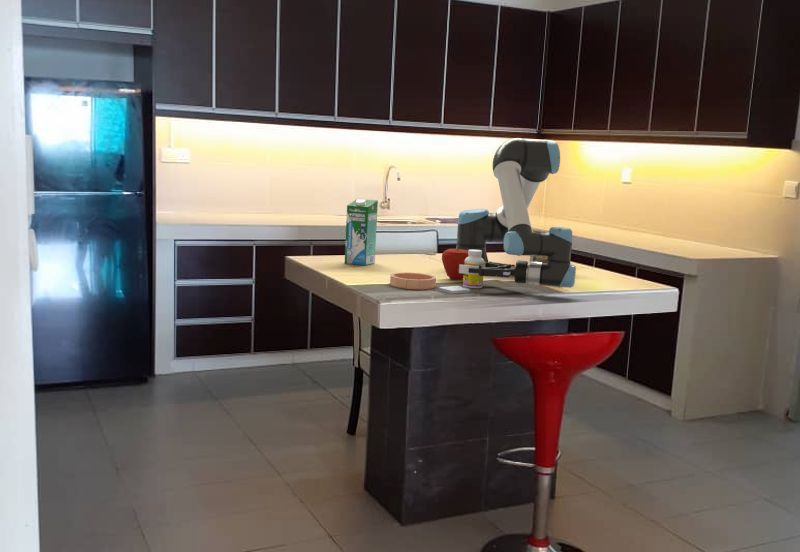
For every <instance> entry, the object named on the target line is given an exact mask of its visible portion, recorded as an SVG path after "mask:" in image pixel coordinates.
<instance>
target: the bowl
mask: <svg viewBox="0 0 800 552" xmlns="http://www.w3.org/2000/svg"><path fill="white" fill-rule="evenodd" d="M389 285H390V286H392V287H395V288H399V289H407V290H431V289H435V288H436V286H437V277H436V276H435V275H431V274H428V273H421V272H395V273H391V274H390V281H389Z"/></svg>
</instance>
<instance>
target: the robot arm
mask: <svg viewBox="0 0 800 552" xmlns="http://www.w3.org/2000/svg"><path fill="white" fill-rule="evenodd" d="M560 165H561V150H560V146H559V144H558V143H557V141H554V140H550V139H540V138H539V139H538V138H537V139H536V138H535V139H534V138H521V137H516V138H514V137H513V138H510V139H508V140H506V141H504V142H503V143H502V144H501V145H500V146H499V147H498V148H497V150H496V152H495V153H494V156H493V158H492V171H493V176H494V177H495V179H497V182H498V186H499V191H500V196H501V201H502V206H500V207H498V209H497V211H496V212H490V211H489V210H488V209H487V208H477V209H476V208H475V209H473V208H471V209H466V210H465V209H464V210H461V211H460V213H459V214H458V219H457V220H458V221H457V231H456V232H457V235H456V247H455V249H458V247H459V249H463V250H467V251H468V250H481V251H482V255H481V258H483V259H484V267H481V265H479V266H470V265H459V273H465V274H475V275H479V276H483V277H495V278H496V277H497V278H507V279H509V278H510V277H511V276H512V277H514V283H515V284H526V283H527V284H528V285H533V286H534V287H537V286H538V285H539V286H545V287H546V286H547V287H554V288H568V289H569V288H573V287H574V286H575V283H576V276H577V266H576V265H573V264H571V255H572V246H573V237H574V236H573V230H572V229H571V228H569V227H564V226H563V227H561V226H551V227H549V233H534V232H533V229H532V225H531V221H530V216H529V211H528V208H529V206H530V205H531V202H532V200H533V198H534V196H535V193H536V192H537V190H538V188H539V186H540V183H542V182H544V181H546V180H547V179H548V177H549V175H550V174H551V175H554V174H557V173H558V172H559V169H560V167H561V166H560ZM487 243H496V244H497V243H500V244H503V251H504V252H505V253H506V254H507V255H508V256H509V255H512V256H518V257H519V256H521V257H522V256H527V257H530V256H547V263H542V262H533V261H530V260H529V262H528V261H527V260H516V261H515V264H509V263H501V262H496V261H489V257H488V253H487V250H486V249H487V248H486V247H487Z"/></svg>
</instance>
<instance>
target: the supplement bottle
mask: <svg viewBox="0 0 800 552" xmlns="http://www.w3.org/2000/svg"><path fill="white" fill-rule="evenodd" d="M468 254H469V256H468V257H467V258H466V259H465V264H464V265H470V266H479V265H481V267H484V259H483V258H481V255H482V251H481V250H468ZM483 286H484V276H479V275H475V274H465V273H464V278H463V279H462V287H464V288H468V289H481V288H482V289H483Z"/></svg>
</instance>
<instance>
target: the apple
mask: <svg viewBox="0 0 800 552" xmlns="http://www.w3.org/2000/svg"><path fill="white" fill-rule="evenodd" d="M468 256H469V254H468V251H467V250H463V249H459V247H458V249H456V248H448V249H445V250H444V251H443V252H442V253H441V262H442V265H443V268H444V271H445V274H446V276H447V277H448V278H449V279H450V280H455V281H457V280H458V281H461V280H462V281H463V278H464V273H459V265H464V264H465V259H466V258H467V257H468Z"/></svg>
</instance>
